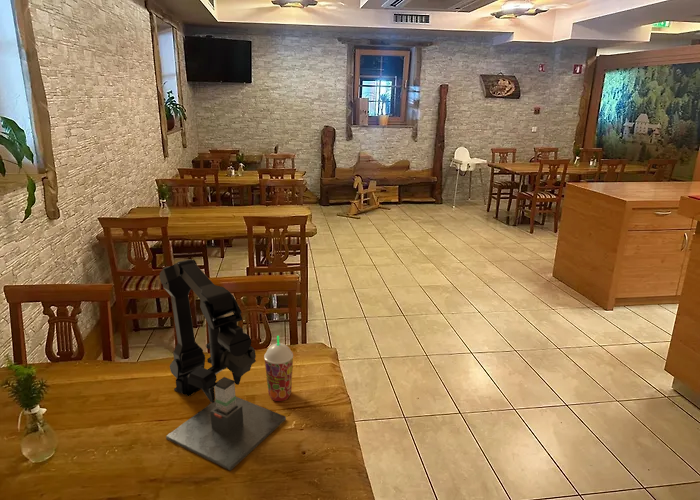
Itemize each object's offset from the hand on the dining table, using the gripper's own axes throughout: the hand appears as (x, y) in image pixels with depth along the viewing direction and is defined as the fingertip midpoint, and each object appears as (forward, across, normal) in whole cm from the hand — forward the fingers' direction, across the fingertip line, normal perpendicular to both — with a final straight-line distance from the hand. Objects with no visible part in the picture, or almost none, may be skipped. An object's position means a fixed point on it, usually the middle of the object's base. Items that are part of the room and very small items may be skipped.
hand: (225, 392), depth 125 cm
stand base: (+11, 0, 0) cm, 11 cm away
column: (+6, 0, 0) cm, 6 cm away
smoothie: (+12, +19, -3) cm, 22 cm away
